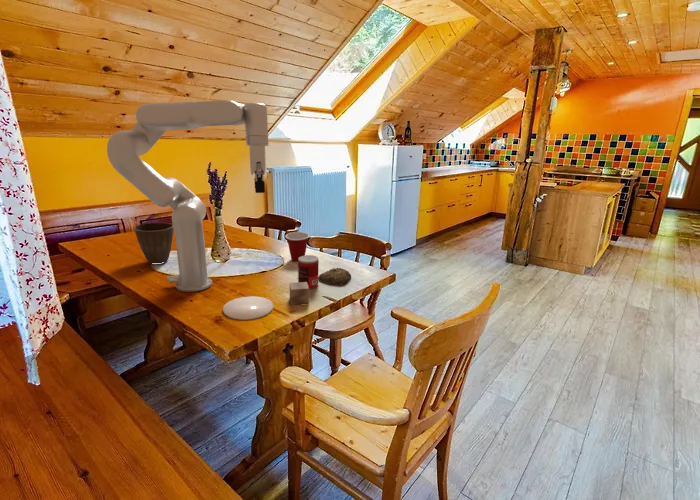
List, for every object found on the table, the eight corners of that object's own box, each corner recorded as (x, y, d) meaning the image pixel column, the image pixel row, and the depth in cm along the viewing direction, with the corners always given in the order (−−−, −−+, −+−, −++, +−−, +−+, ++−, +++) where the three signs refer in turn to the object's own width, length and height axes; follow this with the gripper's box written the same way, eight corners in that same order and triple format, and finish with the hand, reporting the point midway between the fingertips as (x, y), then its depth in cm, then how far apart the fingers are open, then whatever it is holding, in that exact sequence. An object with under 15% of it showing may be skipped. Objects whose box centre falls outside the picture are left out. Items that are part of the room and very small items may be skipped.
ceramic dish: (221, 321, 117) (221, 319, 117) (225, 300, 132) (224, 297, 131) (274, 317, 120) (274, 315, 120) (272, 297, 135) (272, 295, 135)
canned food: (318, 281, 151) (319, 255, 148) (317, 289, 143) (318, 261, 140) (299, 281, 151) (299, 254, 147) (297, 289, 143) (297, 261, 140)
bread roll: (340, 288, 146) (340, 276, 145) (314, 281, 152) (314, 269, 151) (357, 278, 157) (357, 266, 155) (332, 272, 163) (332, 260, 161)
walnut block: (291, 305, 129) (291, 289, 128) (289, 298, 135) (289, 282, 133) (308, 304, 131) (308, 288, 129) (306, 297, 136) (306, 281, 134)
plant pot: (177, 265, 163) (173, 229, 158) (138, 269, 157) (132, 231, 152) (176, 255, 176) (172, 221, 171) (139, 258, 170) (135, 223, 165)
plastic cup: (280, 261, 173) (280, 235, 169) (293, 255, 182) (293, 230, 179) (301, 265, 169) (301, 239, 165) (313, 258, 178) (313, 233, 175)
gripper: (246, 140, 139) (248, 187, 144) (245, 141, 123) (249, 194, 128) (267, 140, 141) (269, 187, 146) (269, 142, 125) (271, 194, 130)
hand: (259, 190), depth 137 cm, fingers open, 9 cm apart
